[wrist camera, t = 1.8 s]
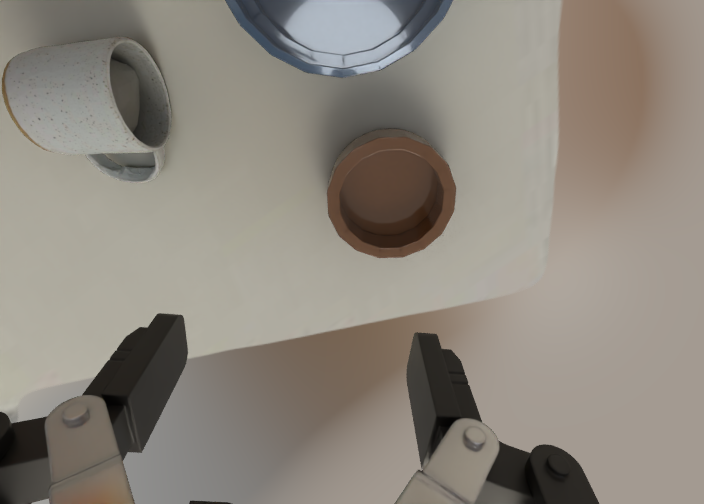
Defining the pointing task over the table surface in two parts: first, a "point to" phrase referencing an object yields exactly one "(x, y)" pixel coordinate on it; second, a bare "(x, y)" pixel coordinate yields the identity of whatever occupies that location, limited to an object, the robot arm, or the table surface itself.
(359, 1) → the bowl
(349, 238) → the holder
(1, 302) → the table surface
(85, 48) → the ceramic mug
